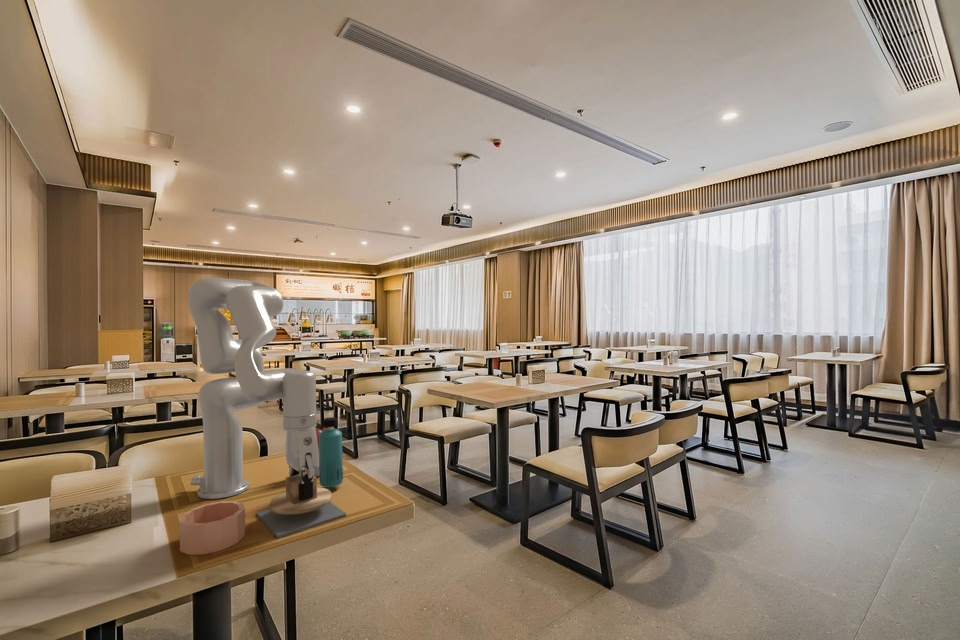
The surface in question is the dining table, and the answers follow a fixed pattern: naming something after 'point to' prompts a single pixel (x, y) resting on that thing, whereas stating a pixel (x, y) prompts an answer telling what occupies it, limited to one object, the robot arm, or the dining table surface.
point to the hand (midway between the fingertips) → (301, 494)
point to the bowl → (212, 527)
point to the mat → (299, 519)
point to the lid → (290, 499)
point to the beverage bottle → (330, 454)
